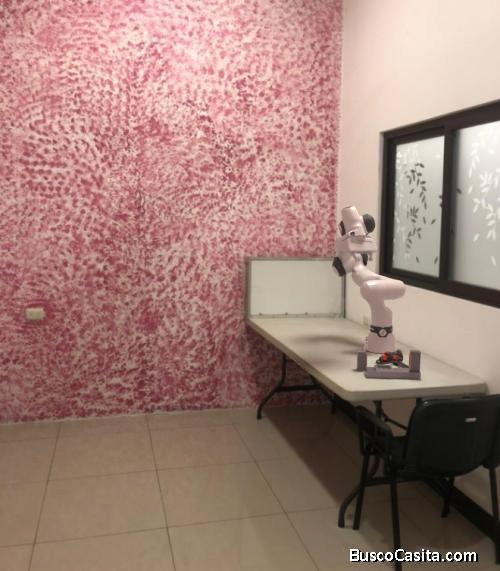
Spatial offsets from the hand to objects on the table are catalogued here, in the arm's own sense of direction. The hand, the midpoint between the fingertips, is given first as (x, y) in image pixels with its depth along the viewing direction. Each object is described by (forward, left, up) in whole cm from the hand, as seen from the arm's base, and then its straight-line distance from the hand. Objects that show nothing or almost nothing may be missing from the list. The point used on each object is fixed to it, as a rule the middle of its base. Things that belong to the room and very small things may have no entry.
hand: (364, 261), depth 298 cm
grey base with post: (+27, +11, -51) cm, 58 cm away
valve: (+6, +15, -51) cm, 54 cm away
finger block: (+17, -2, -51) cm, 54 cm away
